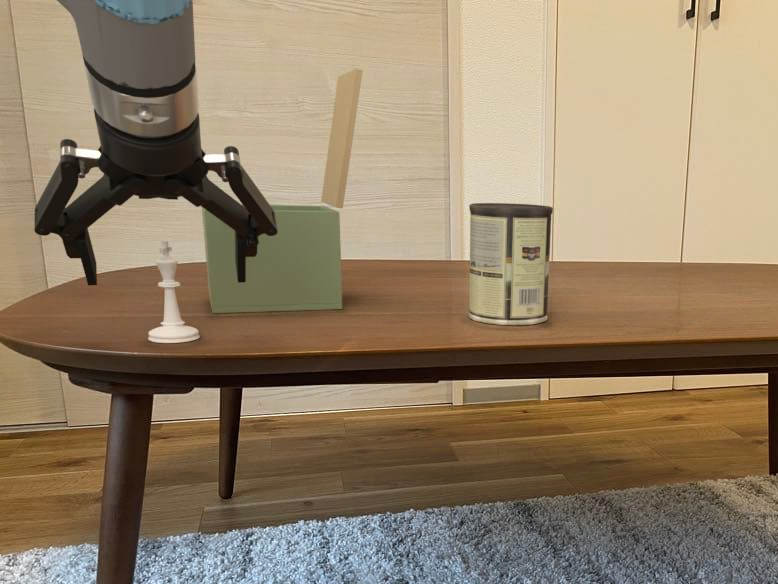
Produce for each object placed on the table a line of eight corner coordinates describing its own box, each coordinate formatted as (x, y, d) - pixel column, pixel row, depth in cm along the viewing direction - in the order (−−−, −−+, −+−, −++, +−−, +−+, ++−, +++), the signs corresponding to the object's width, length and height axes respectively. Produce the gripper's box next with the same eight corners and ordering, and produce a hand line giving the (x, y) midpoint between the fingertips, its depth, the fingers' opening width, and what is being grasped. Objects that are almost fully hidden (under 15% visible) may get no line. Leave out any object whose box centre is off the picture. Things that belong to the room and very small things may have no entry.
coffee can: (496, 307, 107) (499, 201, 102) (561, 317, 102) (567, 207, 98) (451, 318, 98) (452, 203, 94) (520, 329, 93) (525, 209, 89)
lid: (355, 68, 93) (362, 70, 93) (338, 76, 103) (344, 77, 103) (335, 207, 97) (342, 208, 97) (320, 201, 107) (327, 202, 107)
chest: (212, 313, 94) (204, 209, 91) (209, 297, 104) (201, 203, 101) (342, 309, 101) (339, 211, 97) (327, 294, 111) (324, 205, 107)
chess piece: (207, 334, 84) (199, 240, 81) (187, 344, 79) (177, 244, 76) (162, 332, 84) (152, 237, 81) (138, 342, 79) (127, 242, 76)
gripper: (-48, 134, 55) (23, 307, 72) (316, 151, 65) (301, 299, 82) (-43, 60, 58) (24, 243, 75) (304, 86, 68) (292, 243, 85)
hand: (169, 273), depth 79 cm, fingers open, 13 cm apart
